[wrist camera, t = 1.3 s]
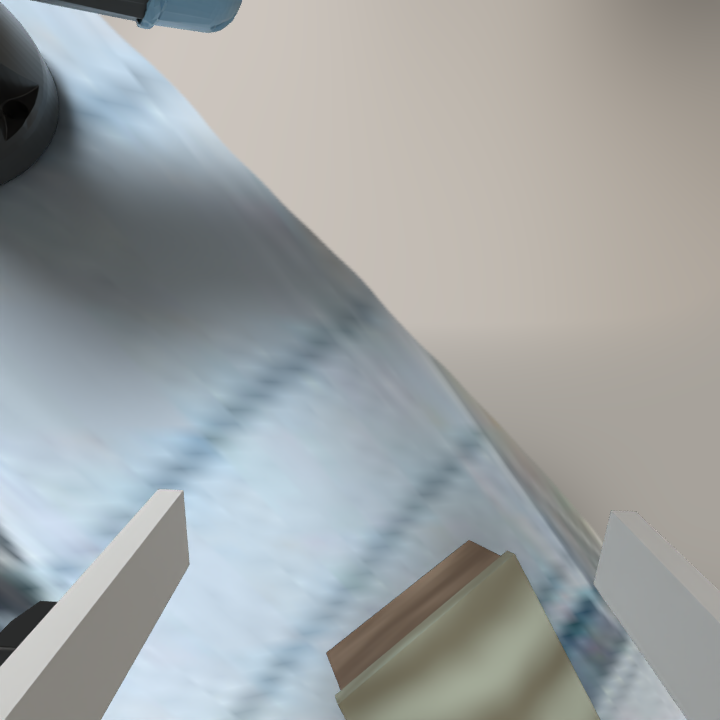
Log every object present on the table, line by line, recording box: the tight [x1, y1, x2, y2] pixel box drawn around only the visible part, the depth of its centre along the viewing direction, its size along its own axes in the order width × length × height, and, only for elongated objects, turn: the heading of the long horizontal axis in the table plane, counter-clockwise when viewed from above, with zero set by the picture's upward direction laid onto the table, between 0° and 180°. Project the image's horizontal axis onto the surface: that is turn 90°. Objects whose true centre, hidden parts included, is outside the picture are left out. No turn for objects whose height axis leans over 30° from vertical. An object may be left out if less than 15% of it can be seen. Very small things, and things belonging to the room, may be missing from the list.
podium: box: [326, 540, 600, 720], centre depth 28 cm, size 15×15×6 cm
